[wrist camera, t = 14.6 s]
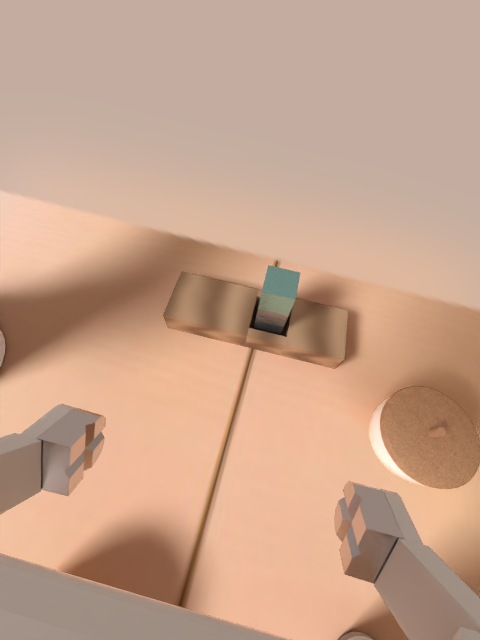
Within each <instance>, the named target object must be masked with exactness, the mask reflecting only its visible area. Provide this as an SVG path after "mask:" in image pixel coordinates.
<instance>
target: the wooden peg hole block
mask: <svg viewBox="0 0 480 640" xmlns="http://www.w3.org/2000/svg"><path fill="white" fill-rule="evenodd" d="M261 294H262V290H259V289H255V288H251V287H246V286H242V285H238V284H233V283H229V282H225V281H221V280H216V279H212V278H208V277H203V276H199V275H195V274H191V273H186V272H181V274H180V277H179V279H178V281H177V284H176V286H175V288H174V291H173V293H172V296H171V298H170V300H169V303H168V305H167V308H166V310H165V312H164V315H163V316H164V318H165V321H166V324H167V327H168V328H172V329H176V330H180V331H184V332H188V333H192V334H196V335H200V336H204V337H208V338H212V339H216V340H220V341H224V342H229V343H233V344H237V345H241V346H245V347H249V348H253V349H257V350H261V351H265V352H269V353H273V354H277V355H281V356H285V357H289V358H294V359H298V360H302V361H306V362H310V363H314V364H318V365H322V366H326V367H330V368H334V369H335V368H336V367H337V366H338V365H339V364H340V363H341V362H342V361H343V360H344V359H345V347H346V334H347V320H348V310H345V309H340V308H336V307H332V306H328V305H323V304H319V303H315V302H310V301H306V300H302V299H298V298H296V300H295V302H294V304H293V307H292V309H291V311H290V314H289V316H288V318H287V321H286V323H285V325H284V327H283V330H282V332H281V334H280V335H276V334H272V333H268V332H264V331H260V330H256V329H254V325H255V320H256V316H257V311H258V307H259V303H260V298H261Z"/></svg>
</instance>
